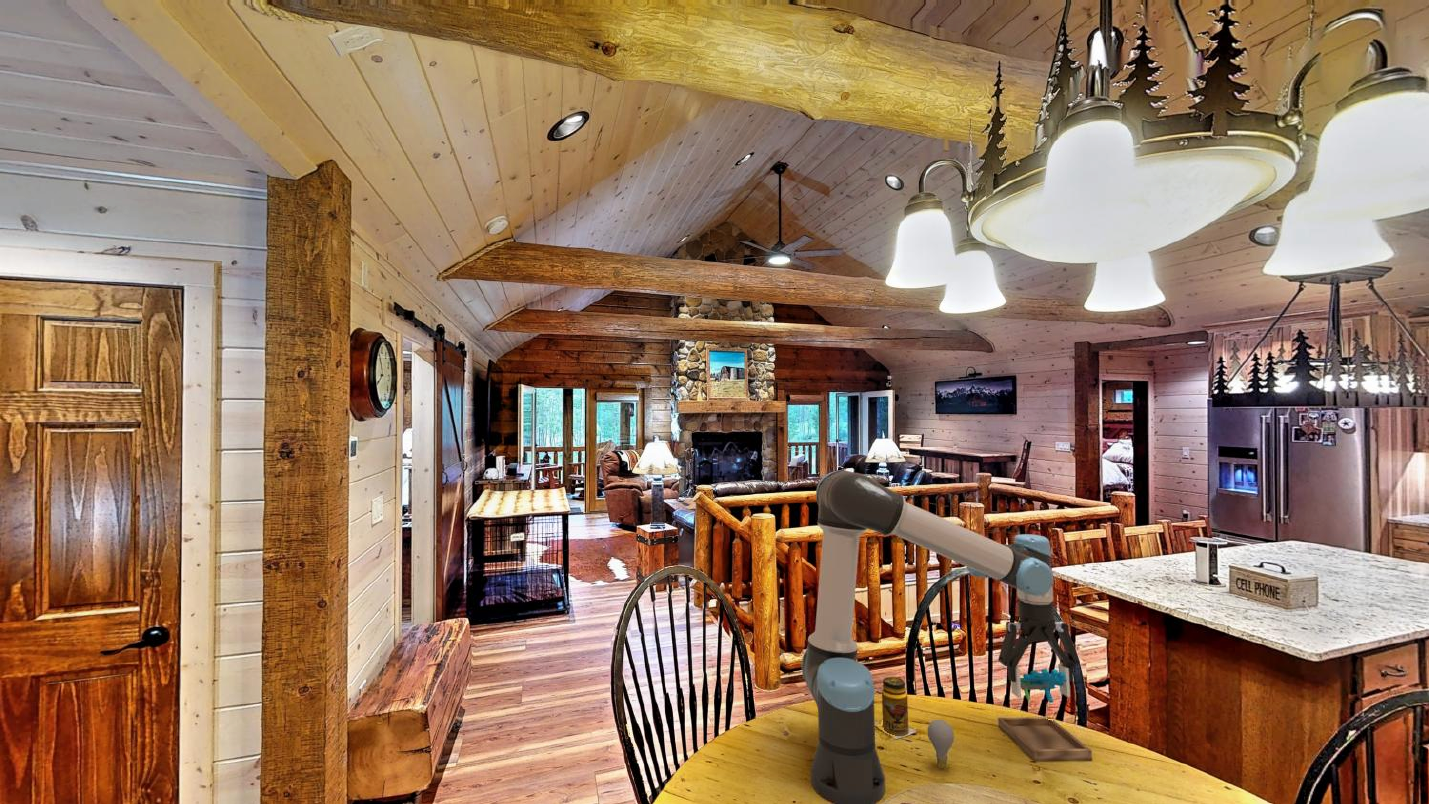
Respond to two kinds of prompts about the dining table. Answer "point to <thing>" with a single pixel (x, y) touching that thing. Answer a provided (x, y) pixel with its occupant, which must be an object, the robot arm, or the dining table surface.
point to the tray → (1044, 739)
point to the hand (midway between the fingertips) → (1040, 694)
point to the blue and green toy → (1042, 682)
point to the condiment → (895, 708)
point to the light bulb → (941, 740)
